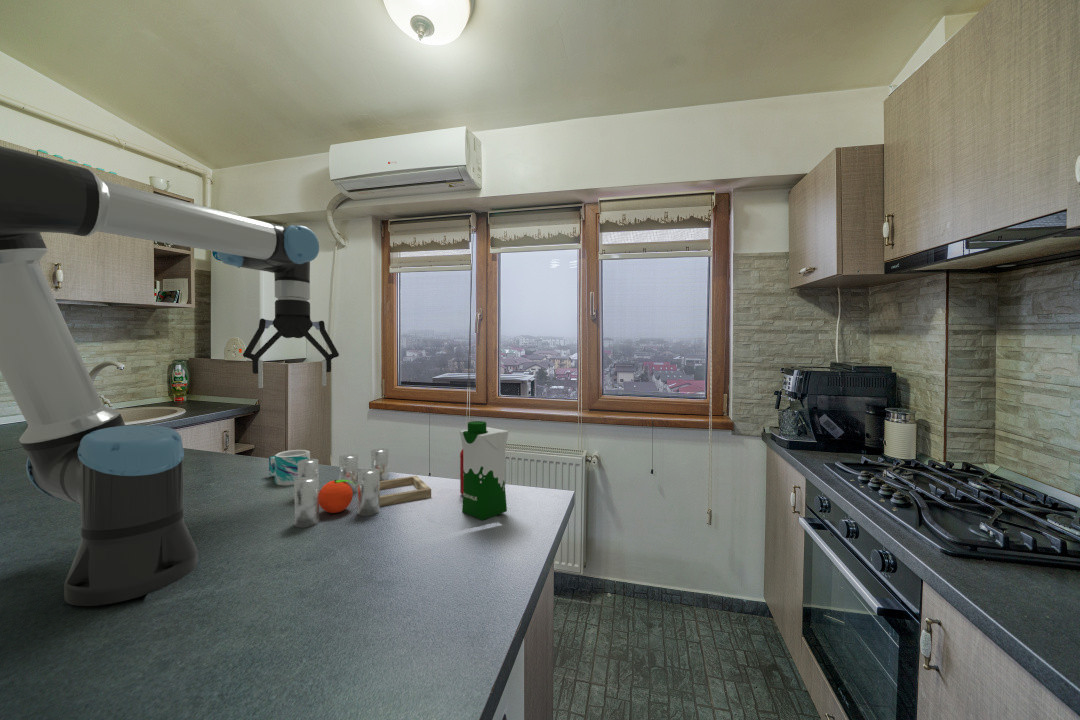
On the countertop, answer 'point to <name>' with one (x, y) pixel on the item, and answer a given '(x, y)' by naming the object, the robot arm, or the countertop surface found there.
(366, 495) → the spacer field
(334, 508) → the clementine
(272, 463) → the mug
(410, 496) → the beech corral
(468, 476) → the milk carton
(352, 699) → the countertop surface
